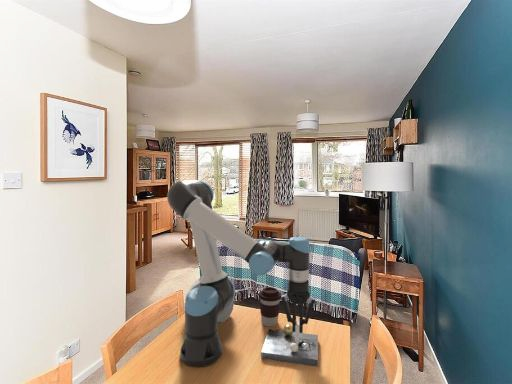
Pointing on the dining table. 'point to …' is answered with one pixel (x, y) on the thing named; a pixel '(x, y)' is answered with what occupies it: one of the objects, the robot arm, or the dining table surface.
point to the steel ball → (305, 345)
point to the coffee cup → (269, 306)
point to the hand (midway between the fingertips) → (297, 340)
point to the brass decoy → (288, 330)
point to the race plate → (280, 350)
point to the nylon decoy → (294, 347)
